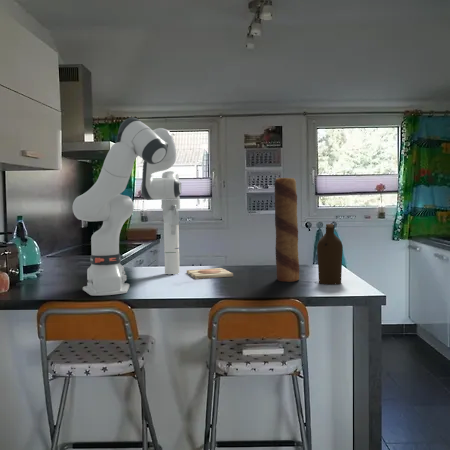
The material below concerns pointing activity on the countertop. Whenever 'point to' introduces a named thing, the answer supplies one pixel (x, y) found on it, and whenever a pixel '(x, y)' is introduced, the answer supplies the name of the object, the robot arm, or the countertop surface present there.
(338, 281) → the olive oil
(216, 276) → the seat board
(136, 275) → the countertop surface
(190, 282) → the countertop surface
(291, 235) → the wafer roll
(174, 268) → the cylindrical container
